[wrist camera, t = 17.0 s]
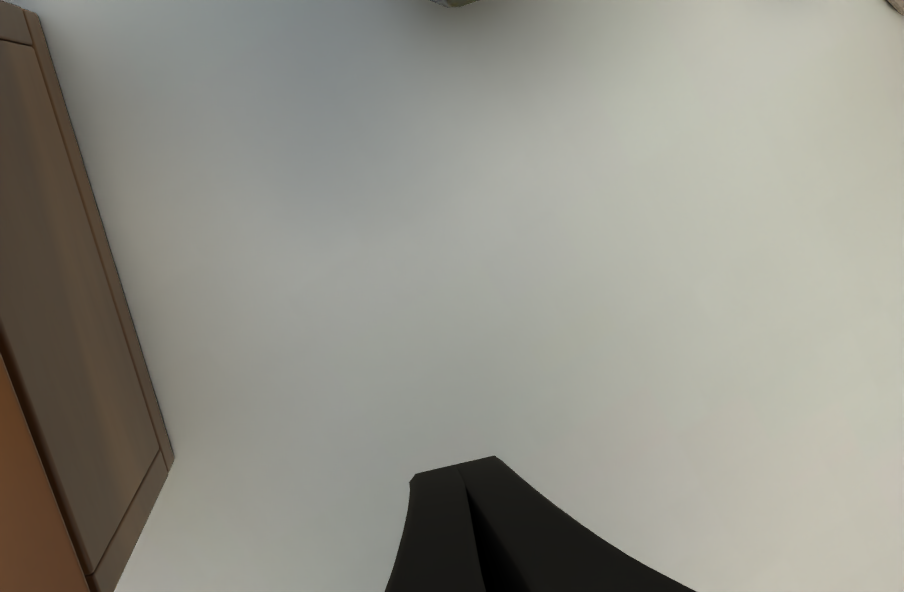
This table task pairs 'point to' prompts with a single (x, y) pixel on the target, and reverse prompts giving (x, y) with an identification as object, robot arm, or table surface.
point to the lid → (30, 511)
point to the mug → (898, 5)
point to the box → (70, 320)
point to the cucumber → (453, 2)
